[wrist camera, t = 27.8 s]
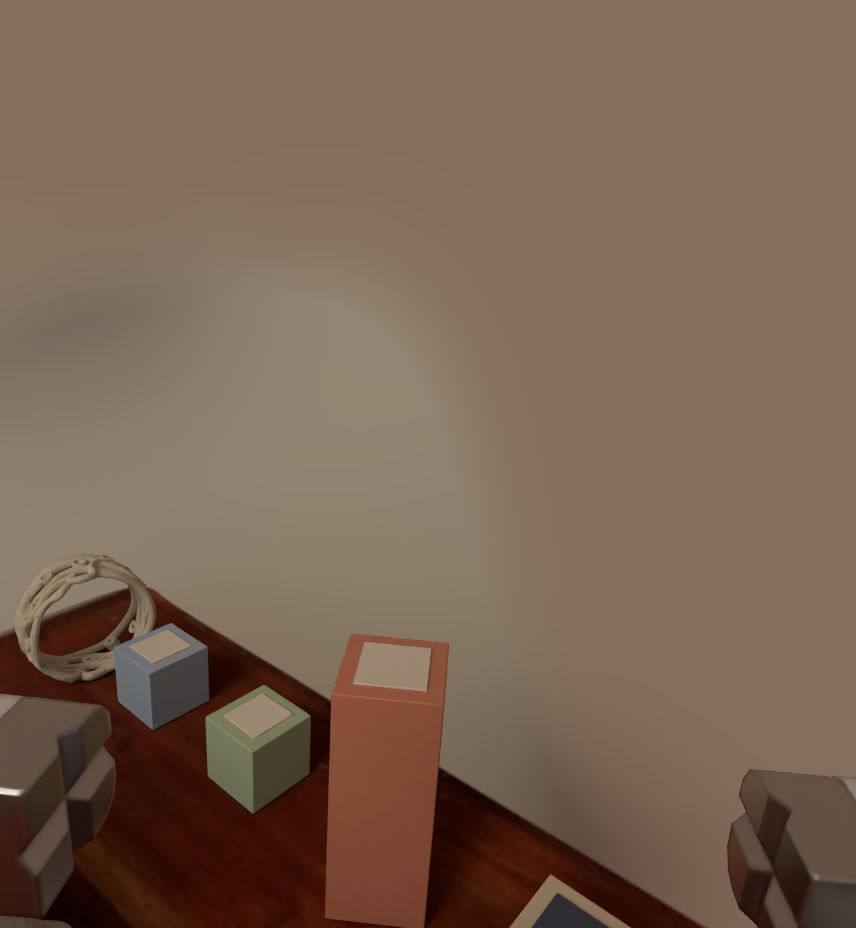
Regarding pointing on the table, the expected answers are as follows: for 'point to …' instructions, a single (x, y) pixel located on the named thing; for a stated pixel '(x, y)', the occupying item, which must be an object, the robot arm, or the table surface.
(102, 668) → the bracelet
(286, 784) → the block
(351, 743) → the tall block
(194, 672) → the block
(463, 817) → the table surface
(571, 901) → the block
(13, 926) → the seashell
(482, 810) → the table surface
